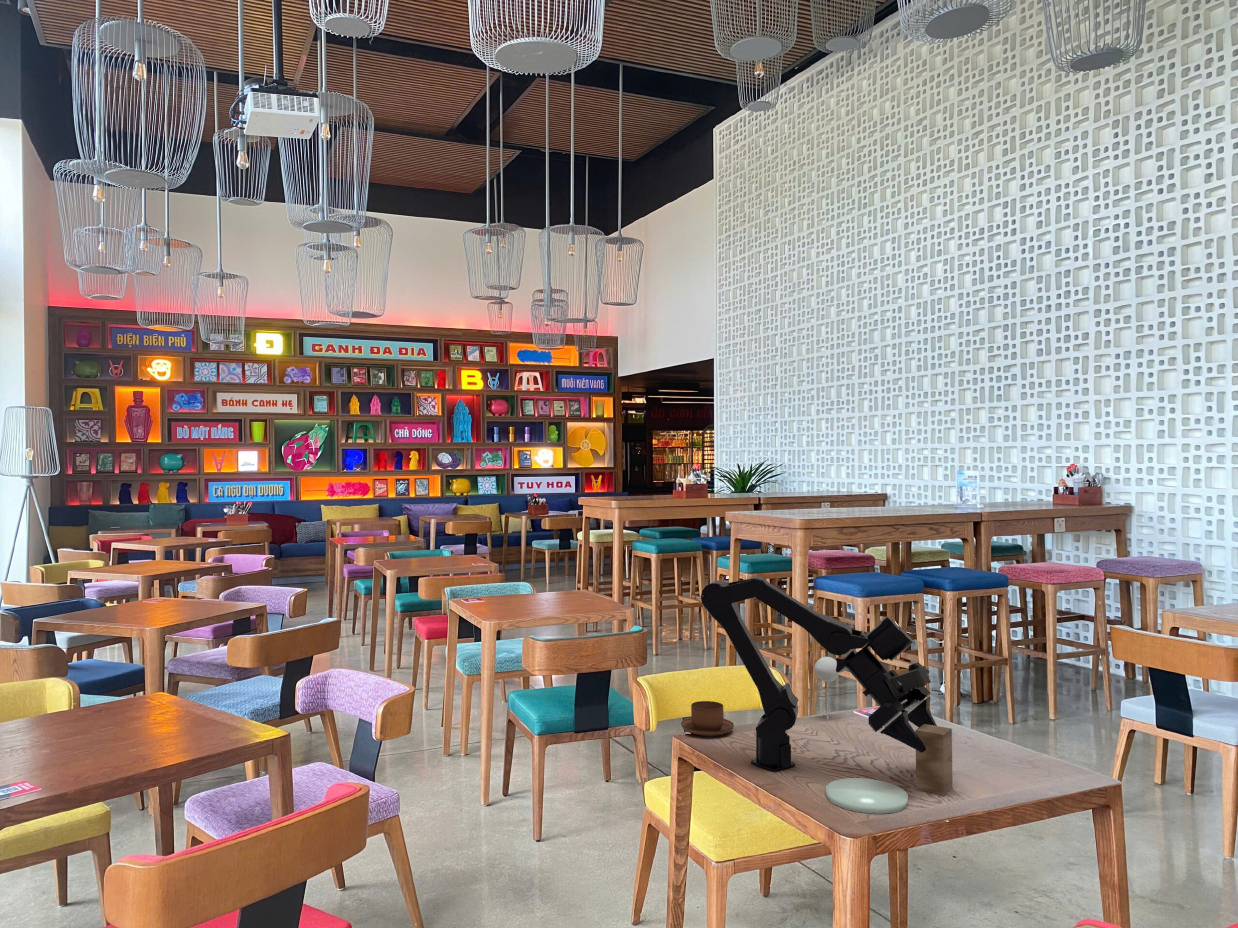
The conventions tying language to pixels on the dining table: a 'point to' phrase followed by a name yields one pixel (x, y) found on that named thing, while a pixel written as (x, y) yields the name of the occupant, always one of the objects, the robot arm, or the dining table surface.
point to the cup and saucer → (707, 719)
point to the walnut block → (934, 760)
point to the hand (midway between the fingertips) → (932, 744)
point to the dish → (867, 795)
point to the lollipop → (826, 673)
